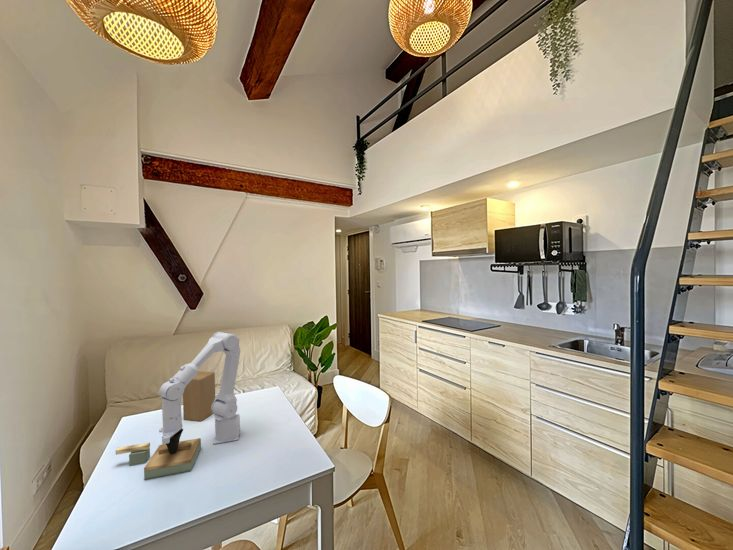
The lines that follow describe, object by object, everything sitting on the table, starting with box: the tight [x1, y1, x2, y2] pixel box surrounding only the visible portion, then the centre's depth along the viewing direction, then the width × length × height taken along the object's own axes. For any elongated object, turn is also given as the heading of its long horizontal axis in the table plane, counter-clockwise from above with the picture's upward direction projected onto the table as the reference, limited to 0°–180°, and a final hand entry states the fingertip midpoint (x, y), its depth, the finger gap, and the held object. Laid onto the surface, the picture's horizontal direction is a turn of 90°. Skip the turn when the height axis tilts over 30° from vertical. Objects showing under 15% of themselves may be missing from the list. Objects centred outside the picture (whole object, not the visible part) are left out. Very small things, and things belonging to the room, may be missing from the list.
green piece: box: [143, 440, 202, 481], centre depth 109 cm, size 14×14×3 cm
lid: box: [143, 437, 202, 472], centre depth 109 cm, size 14×14×2 cm
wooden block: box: [182, 370, 216, 422], centre depth 144 cm, size 10×10×20 cm
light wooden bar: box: [115, 442, 151, 455], centre depth 109 cm, size 10×2×2 cm, turn 107°
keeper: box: [128, 446, 151, 467], centre depth 110 cm, size 5×4×4 cm
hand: (173, 452), depth 107 cm, fingers closed
